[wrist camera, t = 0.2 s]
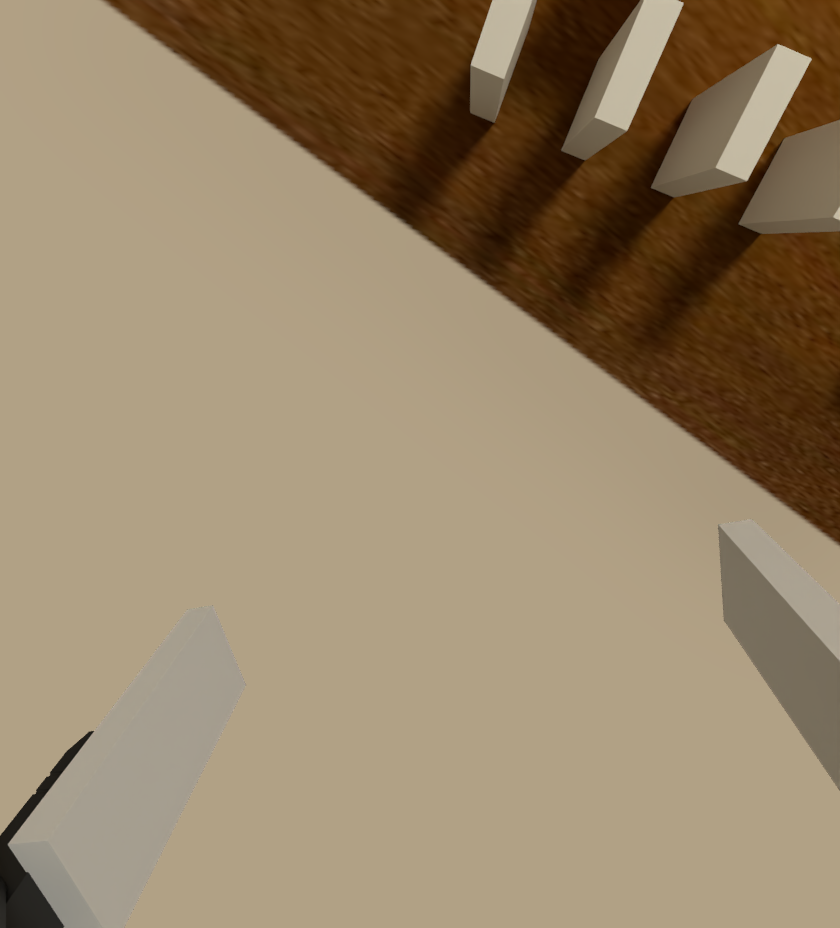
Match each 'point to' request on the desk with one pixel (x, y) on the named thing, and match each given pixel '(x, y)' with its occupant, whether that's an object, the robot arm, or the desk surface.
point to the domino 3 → (730, 125)
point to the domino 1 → (498, 54)
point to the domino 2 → (621, 77)
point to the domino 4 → (800, 186)
